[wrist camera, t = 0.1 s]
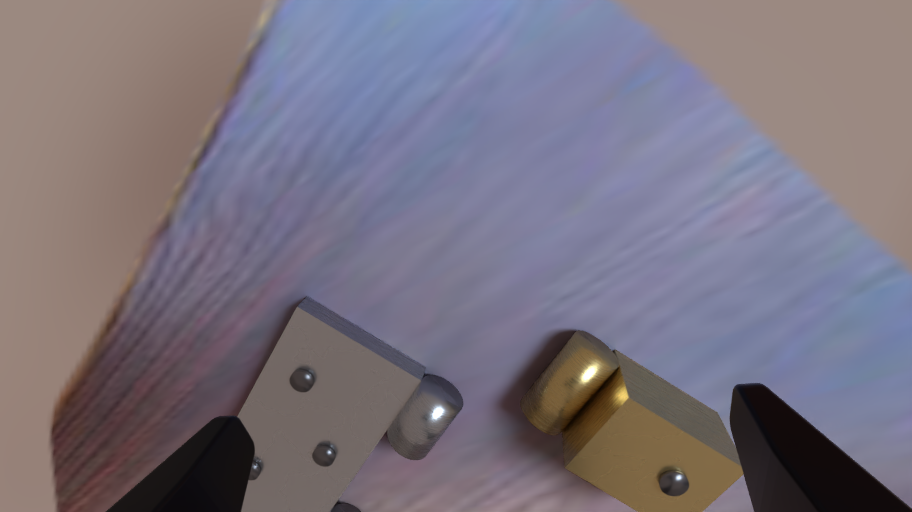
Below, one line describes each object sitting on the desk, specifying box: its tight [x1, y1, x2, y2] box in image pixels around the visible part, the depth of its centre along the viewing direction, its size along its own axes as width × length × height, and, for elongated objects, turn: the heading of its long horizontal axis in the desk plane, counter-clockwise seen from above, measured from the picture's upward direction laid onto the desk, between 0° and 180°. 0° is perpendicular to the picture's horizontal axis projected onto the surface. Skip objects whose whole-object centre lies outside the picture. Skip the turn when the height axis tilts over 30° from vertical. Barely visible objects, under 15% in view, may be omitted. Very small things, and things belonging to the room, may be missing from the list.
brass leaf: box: [520, 330, 743, 512], centre depth 25 cm, size 4×8×4 cm, turn 59°
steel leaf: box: [237, 297, 463, 512], centre depth 29 cm, size 14×9×2 cm
